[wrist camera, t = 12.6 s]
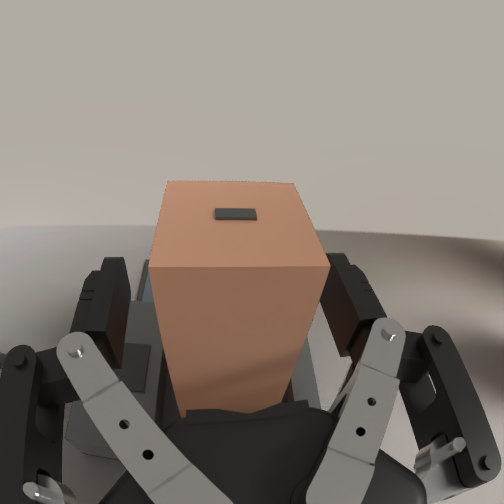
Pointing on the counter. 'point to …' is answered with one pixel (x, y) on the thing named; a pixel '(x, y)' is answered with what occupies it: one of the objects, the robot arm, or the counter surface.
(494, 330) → the counter surface
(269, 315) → the block
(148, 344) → the power strip
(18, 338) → the counter surface
